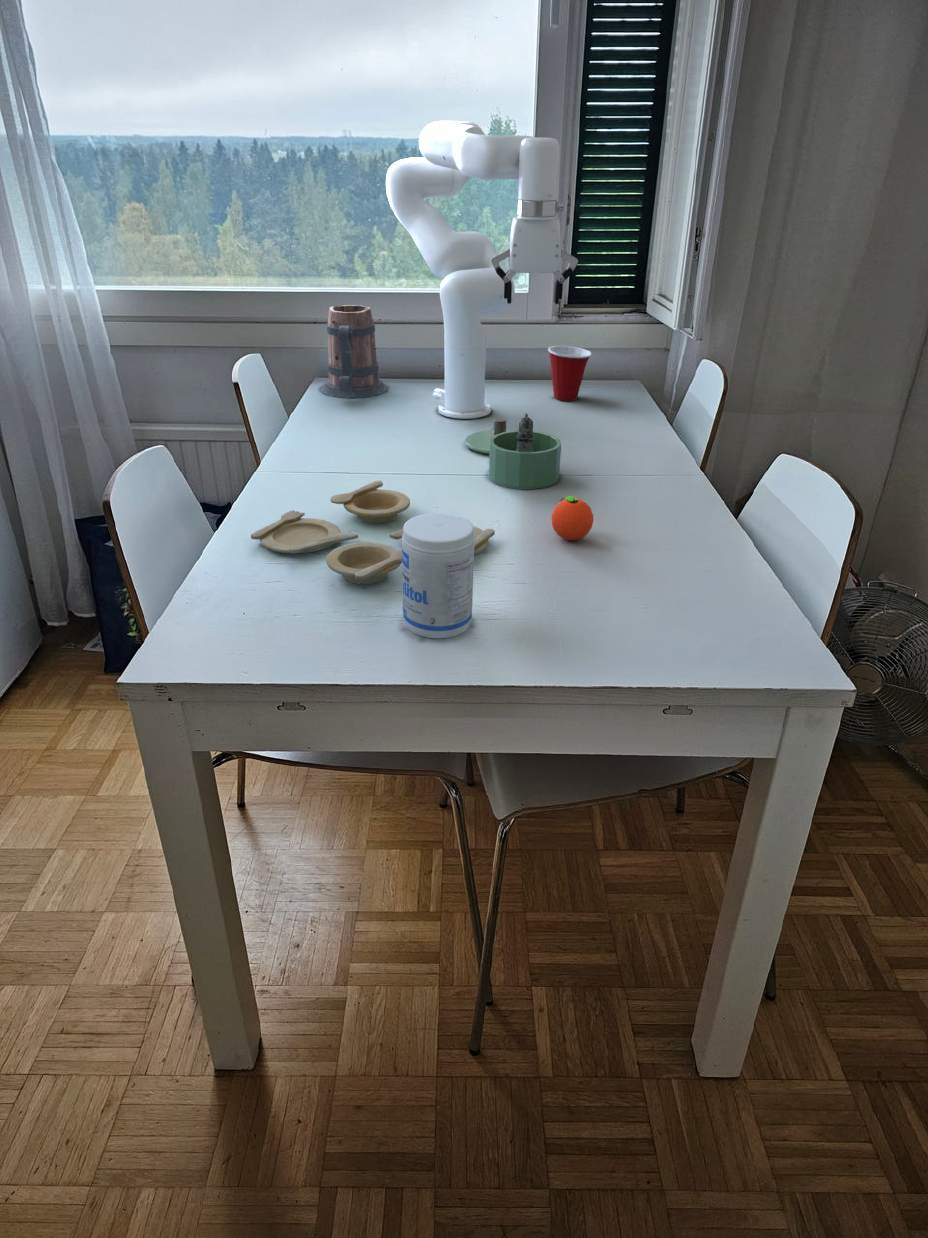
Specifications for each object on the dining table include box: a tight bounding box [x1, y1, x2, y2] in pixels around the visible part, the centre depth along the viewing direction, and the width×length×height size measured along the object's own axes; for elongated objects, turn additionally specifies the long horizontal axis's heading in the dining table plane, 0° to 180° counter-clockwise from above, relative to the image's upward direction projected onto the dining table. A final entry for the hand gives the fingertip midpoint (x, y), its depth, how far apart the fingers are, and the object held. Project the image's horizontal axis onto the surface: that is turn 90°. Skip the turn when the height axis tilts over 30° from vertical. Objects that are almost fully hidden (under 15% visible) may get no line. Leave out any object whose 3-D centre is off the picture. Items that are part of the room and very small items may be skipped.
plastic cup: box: [547, 345, 592, 402], centre depth 216 cm, size 11×11×12 cm
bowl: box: [488, 430, 562, 490], centre depth 168 cm, size 14×14×7 cm
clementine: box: [550, 495, 594, 541], centre depth 144 cm, size 8×7×7 cm
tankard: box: [320, 304, 388, 399], centre depth 216 cm, size 24×17×20 cm
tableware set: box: [250, 480, 496, 585], centre depth 142 cm, size 35×29×4 cm
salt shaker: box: [516, 412, 535, 452], centre depth 167 cm, size 6×6×12 cm
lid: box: [464, 417, 510, 455], centre depth 185 cm, size 15×15×6 cm
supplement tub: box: [401, 512, 475, 639], centre depth 117 cm, size 10×10×15 cm
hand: (532, 302), depth 177 cm, fingers open, 9 cm apart
